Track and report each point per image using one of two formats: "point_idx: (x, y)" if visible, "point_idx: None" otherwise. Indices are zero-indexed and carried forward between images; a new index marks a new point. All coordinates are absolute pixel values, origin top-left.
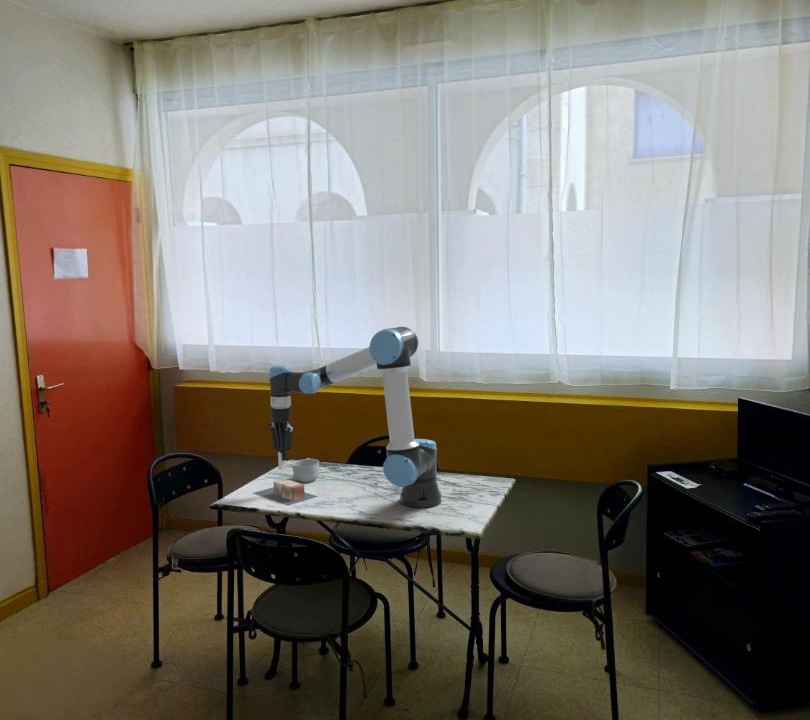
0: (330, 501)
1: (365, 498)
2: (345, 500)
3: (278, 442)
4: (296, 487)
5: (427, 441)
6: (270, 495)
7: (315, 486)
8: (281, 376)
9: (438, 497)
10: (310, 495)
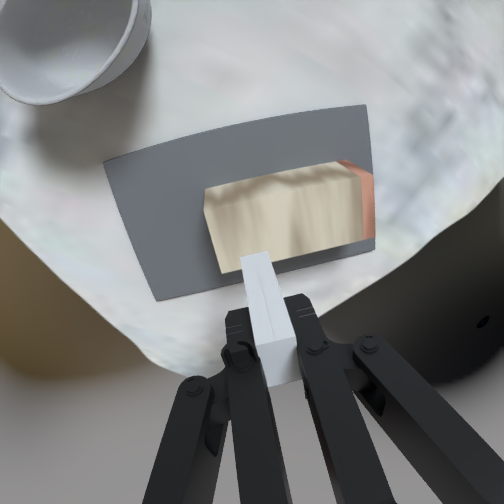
0: (427, 101)
1: (461, 4)
2: (446, 58)
3: (282, 458)
4: (374, 220)
5: None
6: None
7: (206, 27)
8: None
9: None
10: (335, 122)
